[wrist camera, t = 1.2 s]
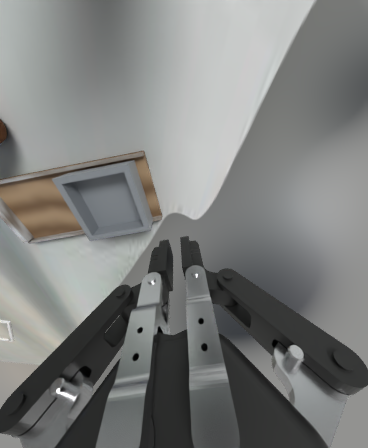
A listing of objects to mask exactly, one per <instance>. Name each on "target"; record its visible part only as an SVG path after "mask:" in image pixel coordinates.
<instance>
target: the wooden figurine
mask: <svg viewBox="0 0 368 448" xmlns="http://www.w3.org/2000/svg"><path fill="white" fill-rule="evenodd" d="M6 137H7V131H6V127H5V125H4V124H3V122H2V121H1V120H0V143H2V142H3V141H4V140H5V139H6Z"/></svg>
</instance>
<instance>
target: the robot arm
mask: <svg viewBox="0 0 368 448" xmlns="http://www.w3.org/2000/svg"><path fill="white" fill-rule="evenodd" d="M180 239H181V255H182V268H183V272H184V276H185V280H186V293H187V300H186V315H187V330H184V331H182V332H180V333H178V334H176V335H171V334H170V329H169V309H170V308H169V307H170V304H169V303H170V300H169V291H173V254H172V250H171V247H170V243H169V240H163V241H160V244H159V247H156V248H154V250H153V251H152V255H151V261H150V265H149V270H148V274H147V275H146V276H145V277H144V278H143V280H142V283H140V284H139V285H136V286H135V287H132V288H130V286H128V285H121V286H119V287H117V288H116V289H115V290H114V291H113V292H112V293H111V294H110V295H109V296H108V297H107V298H106V299H105V300H104V301H103V302H102V303H101V304H100V305H99V306H98V307H97V308H96V309H95V310H94V311H93V312H92V313H91V314H90V315H89V316H88V317H87V318H86V319H85V320H84V321H83V322H82V323H81V324H80V325H79V326H78V327H77V328H76V329H75V330H74V331H73V332H72V333H71V334H70V335H69V336H68V337H67V338H66V339H65V340H64V341H63V342H62V344H61V345H60V346H59V347H58V348H57V349H56V350H55V351H54V352H53V353H52V354H51V355H50V356H49V357H48V358H47V359H46V360H45V361H44V362H43V363H42V364H41V365H40V366H39V367H38V368H37V369H36V370H35V371H34V372H33V373H32V374H31V375H30V376H29V377H28V378H27V379H26V380H25V381H24V382H23V383H22V384H21V385H20V386H19V387H18V388H17V389H16V390H15V391H14V392H13V393H12V394H11V396H10V397H9V398H8V399H7V400H6V402H5V403H4V404H3V406H2V407H1V409H0V433H2V434H8V435H11V436H12V437H15V438H20V441H21V443H22V446H23V448H330V447H331V444H332V441H333V438H334V435H335V432H336V429H337V427H338V424H339V421H340V418H341V415H342V413H343V410H344V407H345V404H346V401H347V399H348V398H349V397H351V396H352V395H354V394H355V393H357V392H358V391H360V390H361V389H363V388H364V387H366V386H367V385H368V369H367V367H366V365H365V364H364V362H363V361H362V360H361V359H360V358H359V356H358V355H357V354H356V353H354V352H353V351H352V350H351V349H349V348H348V347H347V346H345V345H344V344H342V343H341V342H339V341H338V340H336V339H335V338H333V337H332V336H330V335H329V334H327V333H326V332H324V331H323V330H321V329H320V328H318V327H317V326H315V325H314V324H313V323H311V322H310V321H308V320H307V319H305V318H304V317H302V316H301V315H299V314H298V313H296V312H295V311H293V310H292V309H290V308H289V307H287V306H286V305H285V304H283V303H282V302H280V301H279V300H277V299H276V298H274V297H273V296H271V295H270V294H268V293H266V292H265V291H264V290H262V289H260V288H259V287H258V286H256V285H255V284H253V283H252V282H250V281H249V280H247V279H246V278H245V277H243V276H241V275H240V274H238V273H237V272H236V271H234V270H232V269H222V270H220V271H219V272H218V273H213V272H209V271H207V270H206V269H205V268H204V266H203V262H202V258H201V253H200V249H199V245H198V243H197V242H196V241H189V237H188V236H186V237H181V238H180ZM212 303H213V304H219V305H220V306H221V307H222V308H223V309H224V310H225V311H226V312H227V313H228V314H229V315H230V316H231V317H232V318H233V319H234V320H235V321H237V322H238V323H239V324H240V325H241V326H242V327H243V328H244V329H245V330H246V331H247V332H248V333H249V334H250V335H251V336H252V337H253V338H254V339H255V340H256V341H257V342H258V343H259V344H260V345H261V346H262V347H264V349H266V350H267V351H268V352H269V353H270V354H271V355H272V367H273V370H274V372H275V374H276V376H277V377H278V378H279V380H280V381H281V382H282V384H283V385H284V387H285V389H286V391H287V393H288V396H289V401H290V402H289V401H288V400H287V399H286V398H285V397H284V396H283V395H282V394H281V393H280V392H279V390H278V389H276V387H275V386H274V385H273V384H272V383H271V382H270V381H269V380H268V379H267V378H266V377H265V376H264V375H263V374H262V373H261V372H260V371H259V370H258V369H257V368H256V367H255V366H254V365H253V364H252V363H251V362H250V361H249V360H248V359H247V358H246V357H245V356H244V355H243V354H242V353H241V351H240V350H239V349H237V347H236V346H235V345H234V344H232V342H231V341H230V340H229V339H227V338H226V337H224V336H223V335H221V334H219V333H218V330H217V325H216V320H215V315H214V311H213V306H212ZM119 315H120V316H119ZM118 316H119V317H118ZM117 317H118V318H117ZM116 318H117V319H116ZM115 320H116V321H115ZM114 321H115V322H114ZM113 322H114V323H113ZM112 323H113V324H112ZM111 324H112V325H111ZM110 326H111V327H110ZM109 327H110V328H109ZM108 328H109V329H108ZM107 329H108V330H107ZM106 330H107V332H106ZM105 332H106V333H105ZM123 344H124V345H123ZM122 345H123V350H122V354H121V358H120V359H119V361H118V362H117V363H116V365H115V366H114V367H113V369H112V370H111V372H110V373H109V374H108V375H107V377H106V378H105V380H104V381H103V382H102V384H101V385H100V386H99V388H98V389H97V390H96V392H95V393H94V395H93V396H92V392H93V386H94V385H95V383H96V382H97V380H98V379H99V378H100V376H101V375H102V373H103V372H104V371H105V369H106V368H107V366H108V365H109V364H110V362H111V361H112V359H113V358H114V357H115V355H116V354H117V352H118V351H119V350H120V348H121V347H122Z"/></svg>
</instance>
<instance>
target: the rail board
mask: <svg viewBox="0 0 368 448" xmlns="http://www.w3.org/2000/svg"><path fill="white" fill-rule="evenodd" d="M132 160H134V161H135V164H136V167H137V170H138V173H139V177H140V180H141V183H142V186H143V189H144V192H145V195H146V199H147V202H148V205H149V208H150V211H151V214H152V218H153V221H158V220H161V219H162V213H161V210H160V206H159V203H158V199H157V195H156V192H155V188H154V185H153V181H152V178H151V174H150V170H149V167H148V163H147V160H146V156H145V152H144V151H139V152H134V153H129V154H124V155H119V156H114V157H109V158H104V159H99V160H94V161H89V162H84V163H79V164H74V165H69V166H64V167H59V168H54V169H49V170H44V171H39V172H33V173H28V174H23V175H18V176H13V177H8V178H3V179H0V217H1V219H2V220H3V221H4V222H5V223H6V224H7V225H8V226H9V227H10V228H11V230H12V231H13V232H14V233H15V234H16V235H17V236H18V237H19V238H20V239H21V241H22V242H23V243H25V242H28V243H29V244H30V243H36V242H41V241H47V240H52V239H58V238H63V237H69V236H75V235H80V234H85V232H84V231H83V229H82V228H81V226H80V224H79V223H78V221H77V219H76V218H75V216H74V215H73V213H72V211H71V210H70V208H69V206H68V205H67V203H66V202H65V200H64V198H63V197H62V195H61V194H60V192H59V190H58V189H57V187H56V185H55V184H54V182H53V181H52V179H53V178H56V177H59V176H61V175H64V174H67V173H71V172H76V171H81V170H86V169H92V168H97V167H102V166H107V165H112V164H117V163H122V162H127V161H132Z"/></svg>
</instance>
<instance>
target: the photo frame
mask: <svg viewBox="0 0 368 448" xmlns="http://www.w3.org/2000/svg"><path fill="white" fill-rule="evenodd" d="M0 323H7V326H8V330H9V335H10V339H11V340H9V339H5V338H0V340H2V341H12V342H13V341H14V337H13V332H12V327H11V321H5V320H0Z"/></svg>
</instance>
